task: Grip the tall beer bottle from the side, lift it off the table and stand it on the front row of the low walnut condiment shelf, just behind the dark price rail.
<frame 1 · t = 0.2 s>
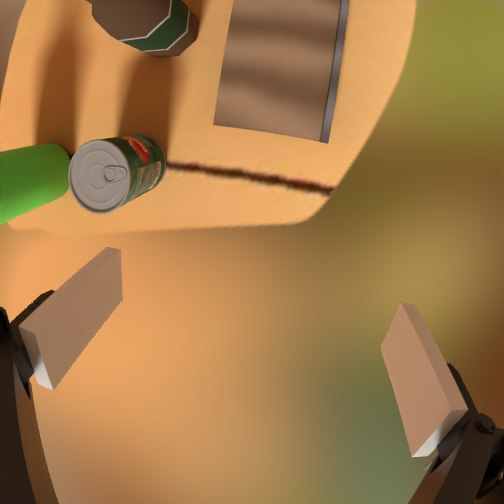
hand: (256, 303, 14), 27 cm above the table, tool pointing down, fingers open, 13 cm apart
bottle: (54, 170, 41), on the table
canned tomato: (139, 163, 40), on the table
beer bottle: (171, 32, 33), on the table
condiment shelf: (282, 33, 32), on the table
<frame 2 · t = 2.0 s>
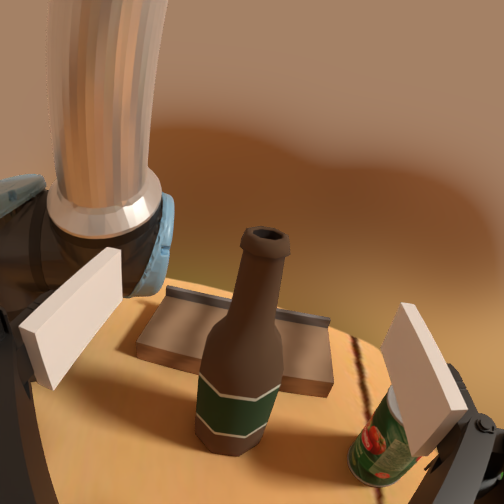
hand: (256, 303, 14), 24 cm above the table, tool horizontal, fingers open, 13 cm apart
canned tomato: (376, 461, 30), on the table
beer bottle: (227, 432, 33), on the table
condiment shelf: (237, 352, 45), on the table
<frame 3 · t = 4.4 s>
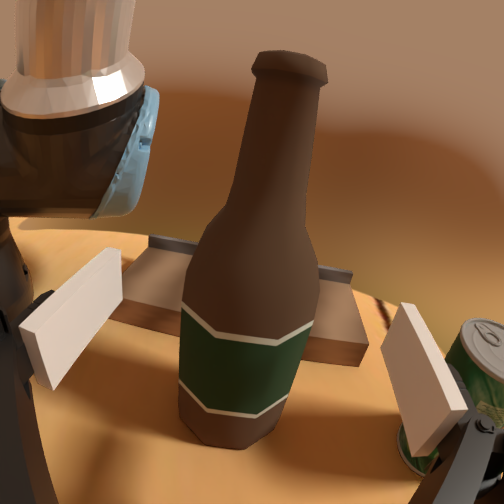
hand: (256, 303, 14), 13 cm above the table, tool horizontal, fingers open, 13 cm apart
canned tomato: (433, 446, 21), on the table
beer bottle: (227, 414, 23), on the table
condiment shelf: (238, 313, 36), on the table
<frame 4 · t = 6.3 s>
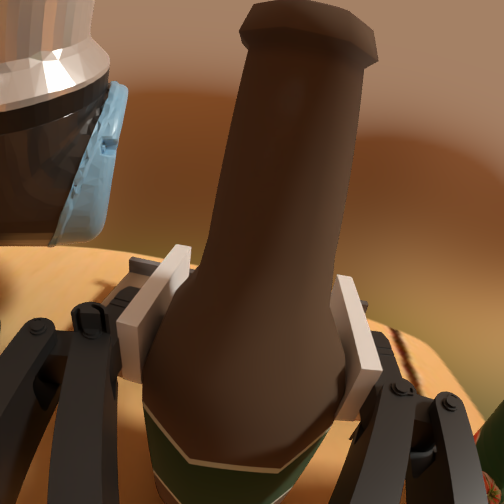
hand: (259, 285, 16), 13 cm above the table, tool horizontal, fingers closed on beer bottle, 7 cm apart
beer bottle: (217, 491, 17), on the table, touching gripper
condiment shelf: (233, 355, 29), on the table
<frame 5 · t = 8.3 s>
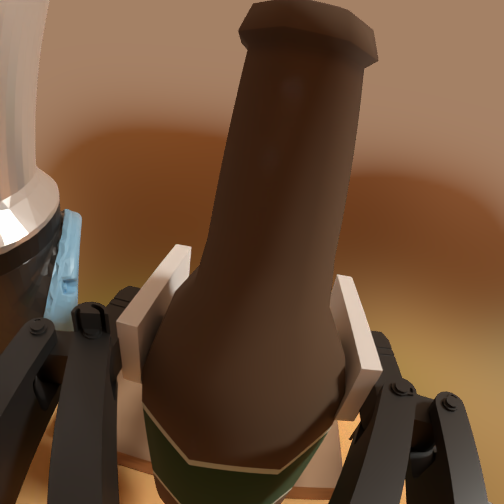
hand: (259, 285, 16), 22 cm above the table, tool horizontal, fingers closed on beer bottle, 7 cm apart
beer bottle: (217, 491, 17), point 9 cm above the table, touching gripper
condiment shelf: (208, 438, 29), on the table
when the fingers open (17 cm above the table, at t = 10.5 s): beer bottle drops 1 cm, resting on condiment shelf.
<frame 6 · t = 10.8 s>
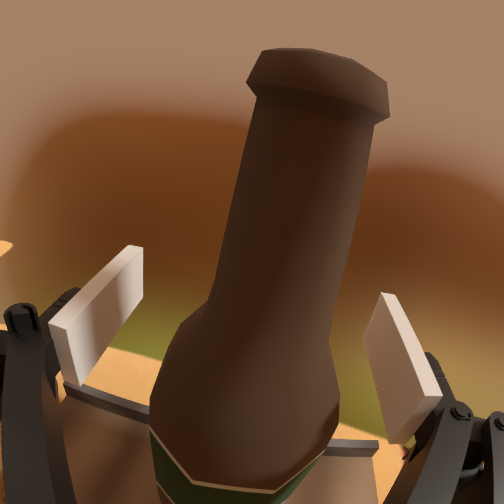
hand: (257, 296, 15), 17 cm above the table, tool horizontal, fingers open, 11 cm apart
beer bottle: (216, 498, 17), point 3 cm above the table, touching condiment shelf
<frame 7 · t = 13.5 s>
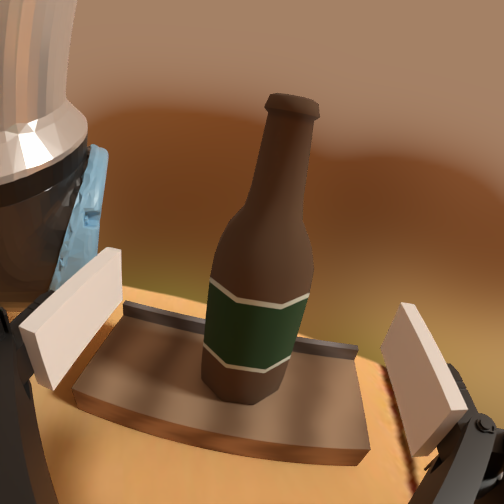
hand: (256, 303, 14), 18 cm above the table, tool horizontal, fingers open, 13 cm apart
beer bottle: (240, 378, 29), point 3 cm above the table, touching condiment shelf
condiment shelf: (224, 401, 29), on the table
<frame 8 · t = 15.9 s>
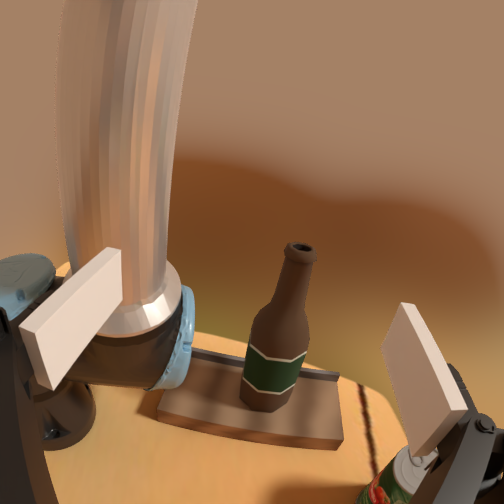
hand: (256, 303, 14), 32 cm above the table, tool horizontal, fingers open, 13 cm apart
beer bottle: (262, 395, 45), point 3 cm above the table, touching condiment shelf
condiment shelf: (252, 410, 45), on the table
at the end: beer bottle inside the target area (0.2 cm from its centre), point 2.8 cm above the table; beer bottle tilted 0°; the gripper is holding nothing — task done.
